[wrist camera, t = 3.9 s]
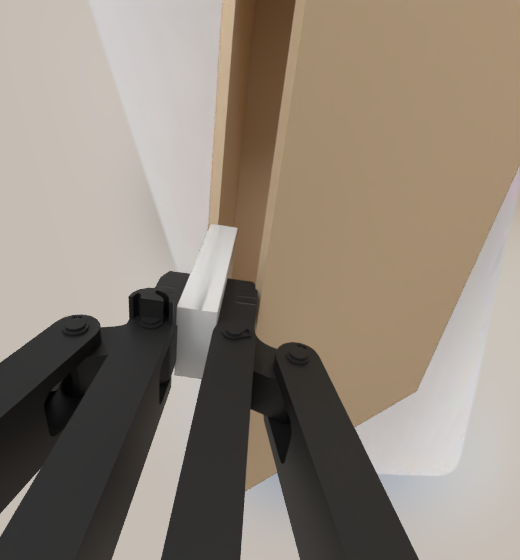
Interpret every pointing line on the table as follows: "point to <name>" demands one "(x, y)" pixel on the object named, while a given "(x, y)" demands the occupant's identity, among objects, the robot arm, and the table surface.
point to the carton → (248, 120)
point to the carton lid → (383, 187)
